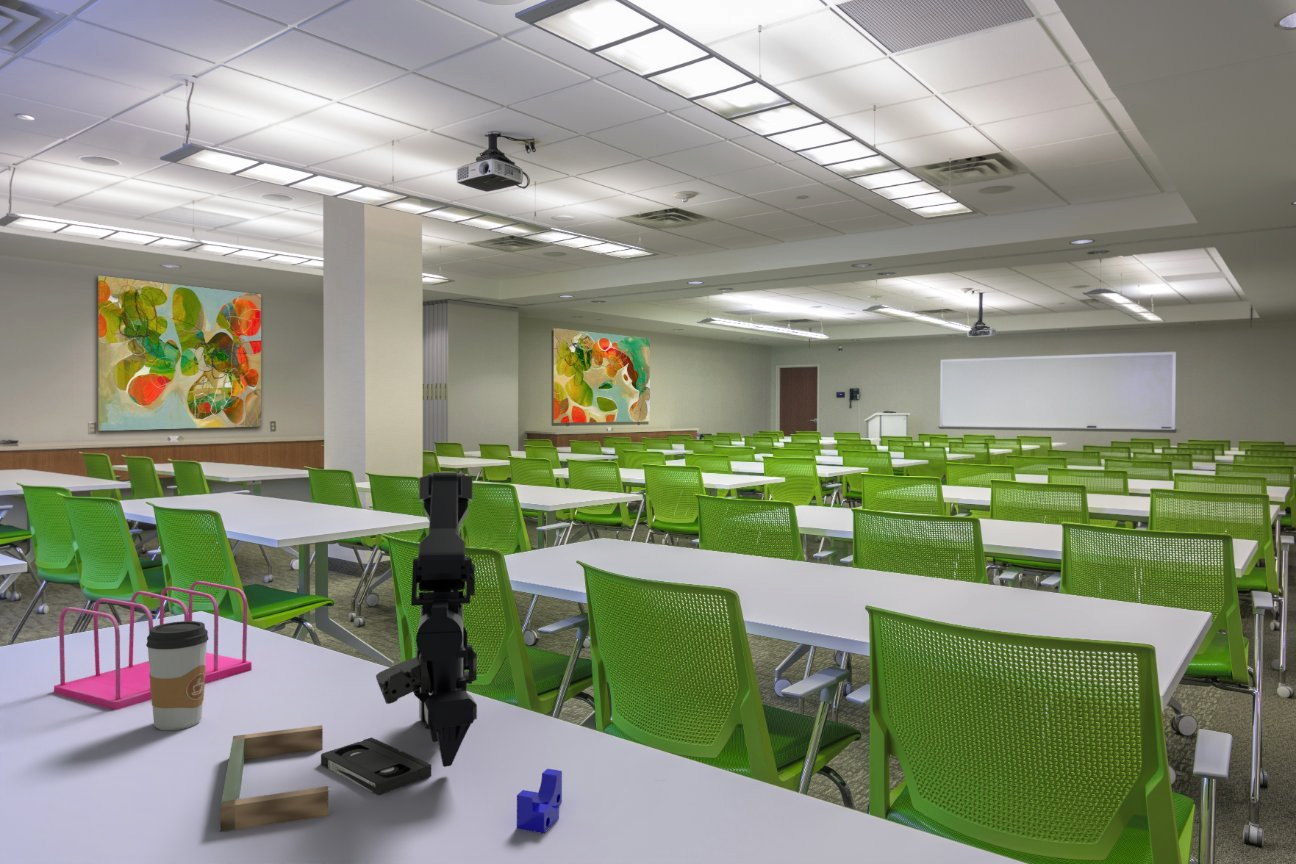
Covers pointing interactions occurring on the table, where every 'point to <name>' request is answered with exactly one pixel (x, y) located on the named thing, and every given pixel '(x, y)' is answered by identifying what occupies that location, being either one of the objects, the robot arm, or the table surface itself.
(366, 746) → the vhs tape
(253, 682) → the table surface
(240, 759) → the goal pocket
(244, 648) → the file sorter
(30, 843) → the table surface
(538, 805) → the cable holder
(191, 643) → the coffee cup
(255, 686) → the table surface
